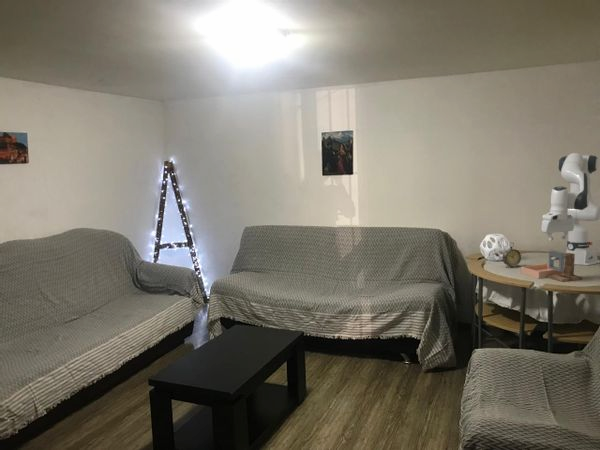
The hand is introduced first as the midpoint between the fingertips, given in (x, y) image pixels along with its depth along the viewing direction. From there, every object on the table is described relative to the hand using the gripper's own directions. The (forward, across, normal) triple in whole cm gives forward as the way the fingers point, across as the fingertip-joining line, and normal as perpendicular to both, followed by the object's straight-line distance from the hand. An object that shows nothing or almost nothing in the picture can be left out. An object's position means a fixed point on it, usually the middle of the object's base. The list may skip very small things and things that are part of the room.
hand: (557, 239), depth 272 cm
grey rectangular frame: (+18, 0, 0) cm, 18 cm away
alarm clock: (+24, 0, -35) cm, 42 cm away
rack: (+23, -6, 0) cm, 24 cm away
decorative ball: (+23, -6, -57) cm, 62 cm away
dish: (+23, -4, -13) cm, 27 cm away
